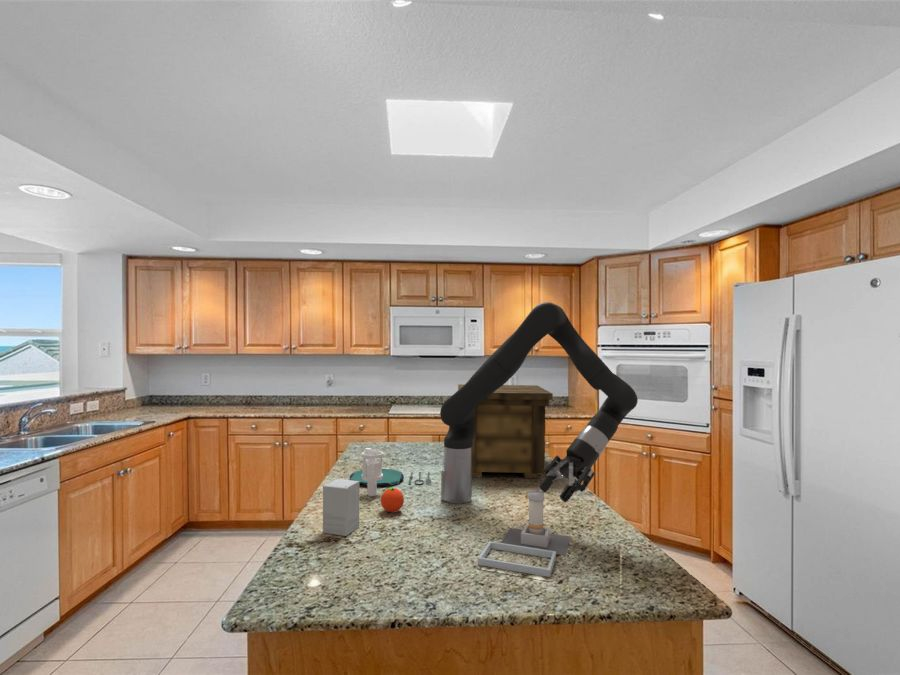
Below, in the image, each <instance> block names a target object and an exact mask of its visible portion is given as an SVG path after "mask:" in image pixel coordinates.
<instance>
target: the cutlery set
mask: <svg viewBox="0 0 900 675" xmlns="http://www.w3.org/2000/svg"><path fill="white" fill-rule="evenodd" d="M430 473H431V472H430V471H428V472H427V478H426V479H425V485H426V486H431V485H432V484H431V483H432V479H431V478H430ZM362 474H363V469H359V470H355V471H354V472H352V473H351V474H350V475H349V480H352V481H359V485H363V486H367V485H368V481H365V480H362ZM382 474H383V479H381V480H377V486H387V485H390V486H394V485H399V483H400V482H401V481H403V479H404V476H405V475H404V474H403V472H402V471H401V470H397V469H394V468H390V469H387V468H382ZM421 476H422V471H418V479H416V480H415V481H414V483H415V485H418V486H420V485H422V484H424V480H422V479H421ZM413 478H414V477H413V472H410V475H409V480H408V485H409V486H411V484H412V480H413ZM418 482H421V483H418Z"/></svg>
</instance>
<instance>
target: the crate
mask: <svg viewBox="0 0 900 675" xmlns="http://www.w3.org/2000/svg"><path fill="white" fill-rule="evenodd" d="M465 384H466V383H465ZM465 384H462V383H461V384H460V383H459V384H457V391H458V390H459V389H461V388H462V387H463V386H464V385H465ZM553 395H554V394H553V392H551V391H548V390H547V389H544V388H542V387H541V386H539V385H535V384H534V385H533V384H532V385H531V384H530V385H522V384H520V385H519V384H517V385H516V384H515V385H514V384H510V385H509V384H504V385H502V386H501V387H500V388H498V389H497V390H496V391H494V392H493V393H491V394H490V395H488V396H487V397H485V398H484V399H483V400H481V401H480V402H479V403H478V404H477V405H476V406H475V434H474V438H473V441H472V478H482V477H483V473H522V476H523V477H524V478H525V477H526V478H525V479H531V478H530V477H534V478H533V479H537V478H538V474H539V475H545V472H544V470H545V465H546V463H545V462H546V453H545V452H546V437H545V436H546V407H547V406H548V407H549V405H550V401H553V400H554V398H553V397H554V396H553Z"/></svg>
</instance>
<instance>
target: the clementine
mask: <svg viewBox="0 0 900 675" xmlns="http://www.w3.org/2000/svg"><path fill="white" fill-rule="evenodd" d="M404 502H405V497H404V495H403V493H402V491H401V490H400V489H398V488H395V487H388V488H385V489H383V492H382V494H381V497H380V505H381V507H382V509H383V510H385V511H386V512H387V513H396V512H398V511H400V509H402V508H403V505H404Z"/></svg>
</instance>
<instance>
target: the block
mask: <svg viewBox="0 0 900 675" xmlns="http://www.w3.org/2000/svg"><path fill="white" fill-rule="evenodd" d="M551 531H552V530H551V527H546V526H543V534H544V535H537V534H530V533H529V524H525V526H524V527H523V529H521V528H513V527H509V528H508V530H507V531H506V533H505V535H504V536H503V538H502V540H501V541H500V543H504V544H511V545H517V546H524V547H530V548H537V549H543V550H550V551H556V555H561V556H566V555H567V552H568V548H569V545H570V541H571V538H572V537H571V536H570V535H564V534H557V533H556V534H555V533H552V532H551Z"/></svg>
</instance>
